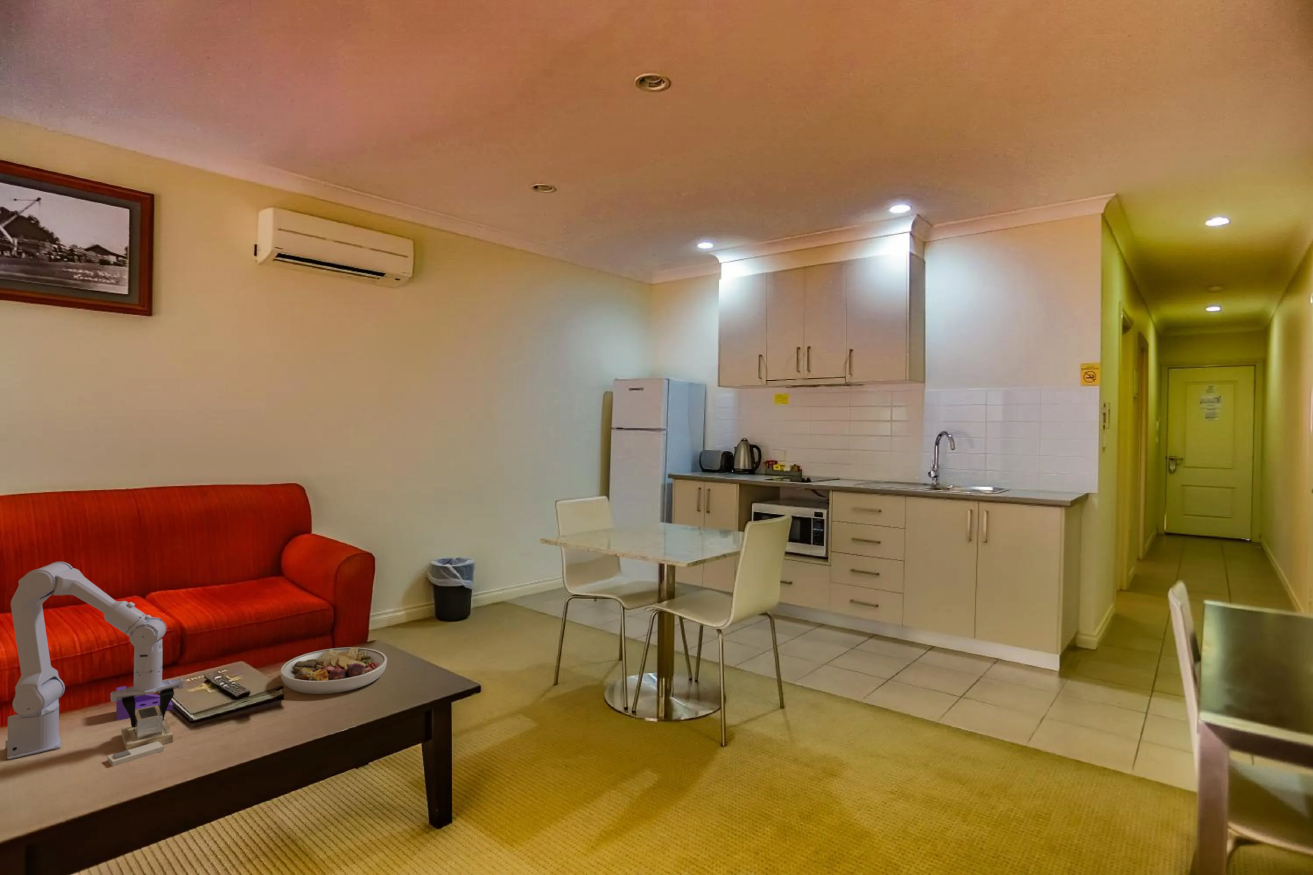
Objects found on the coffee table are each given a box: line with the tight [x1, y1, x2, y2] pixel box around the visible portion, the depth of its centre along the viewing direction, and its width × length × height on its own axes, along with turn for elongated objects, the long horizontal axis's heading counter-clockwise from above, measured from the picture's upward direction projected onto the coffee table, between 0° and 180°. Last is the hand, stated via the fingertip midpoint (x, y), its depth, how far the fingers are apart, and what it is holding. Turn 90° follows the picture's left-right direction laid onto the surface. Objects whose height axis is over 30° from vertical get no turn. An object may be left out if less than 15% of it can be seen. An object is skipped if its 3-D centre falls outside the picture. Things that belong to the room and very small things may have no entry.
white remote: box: [107, 741, 165, 767], centre depth 164 cm, size 4×10×2 cm, turn 142°
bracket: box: [115, 685, 174, 721], centre depth 188 cm, size 12×7×7 cm, turn 130°
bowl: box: [280, 646, 388, 695], centre depth 215 cm, size 30×30×8 cm
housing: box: [133, 705, 163, 741], centre depth 172 cm, size 5×8×5 cm, turn 43°
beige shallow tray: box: [121, 717, 174, 751], centre depth 172 cm, size 9×12×2 cm
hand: (147, 722), depth 172 cm, fingers open, 5 cm apart
